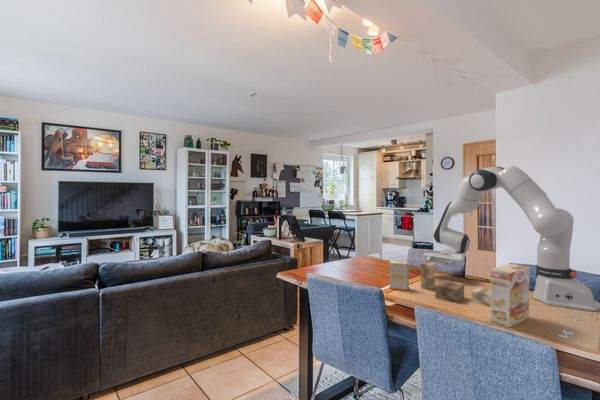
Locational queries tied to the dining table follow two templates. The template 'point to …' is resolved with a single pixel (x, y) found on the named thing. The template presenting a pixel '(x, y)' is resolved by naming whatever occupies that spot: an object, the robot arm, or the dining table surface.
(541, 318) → the dining table surface
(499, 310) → the coffeecake box
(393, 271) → the supplement box
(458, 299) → the walnut block
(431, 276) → the oak pillar
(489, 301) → the beech block
